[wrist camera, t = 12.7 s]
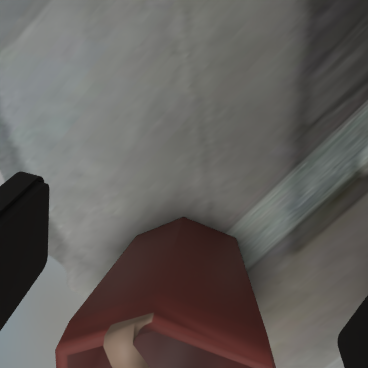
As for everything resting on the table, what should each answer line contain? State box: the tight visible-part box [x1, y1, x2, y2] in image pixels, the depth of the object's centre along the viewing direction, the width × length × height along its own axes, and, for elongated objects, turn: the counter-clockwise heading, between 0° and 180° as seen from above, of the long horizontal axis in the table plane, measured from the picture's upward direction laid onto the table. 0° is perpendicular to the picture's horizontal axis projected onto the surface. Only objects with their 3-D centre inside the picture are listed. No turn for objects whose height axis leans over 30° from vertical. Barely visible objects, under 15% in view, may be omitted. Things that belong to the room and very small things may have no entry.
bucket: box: [55, 217, 276, 368], centre depth 36 cm, size 24×22×25 cm
